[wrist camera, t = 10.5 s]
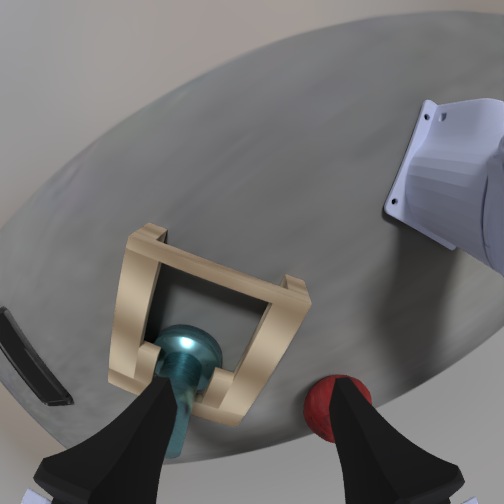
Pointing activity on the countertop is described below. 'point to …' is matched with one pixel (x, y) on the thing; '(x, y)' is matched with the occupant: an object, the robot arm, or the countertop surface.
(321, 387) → the onion
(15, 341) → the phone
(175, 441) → the peg
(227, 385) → the beige wooden frame
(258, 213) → the countertop surface
